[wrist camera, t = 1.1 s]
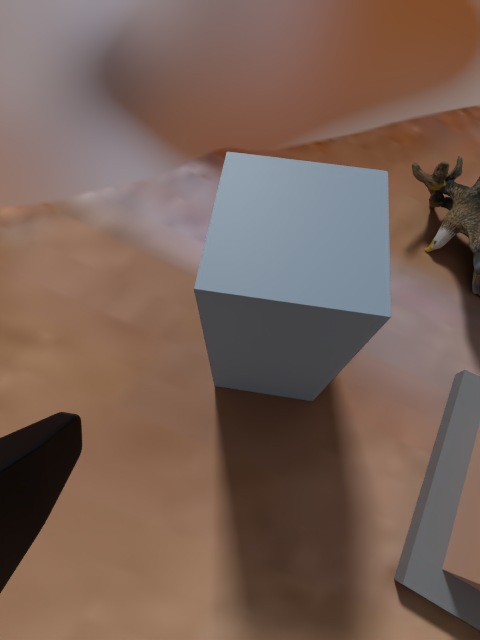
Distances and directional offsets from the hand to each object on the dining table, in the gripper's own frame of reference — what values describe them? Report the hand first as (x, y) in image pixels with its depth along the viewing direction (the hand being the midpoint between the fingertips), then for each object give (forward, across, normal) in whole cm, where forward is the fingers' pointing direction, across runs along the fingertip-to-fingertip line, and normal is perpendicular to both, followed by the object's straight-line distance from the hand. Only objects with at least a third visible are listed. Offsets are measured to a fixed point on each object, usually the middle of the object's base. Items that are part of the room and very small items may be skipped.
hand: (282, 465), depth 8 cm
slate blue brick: (+15, 0, +4) cm, 16 cm away
